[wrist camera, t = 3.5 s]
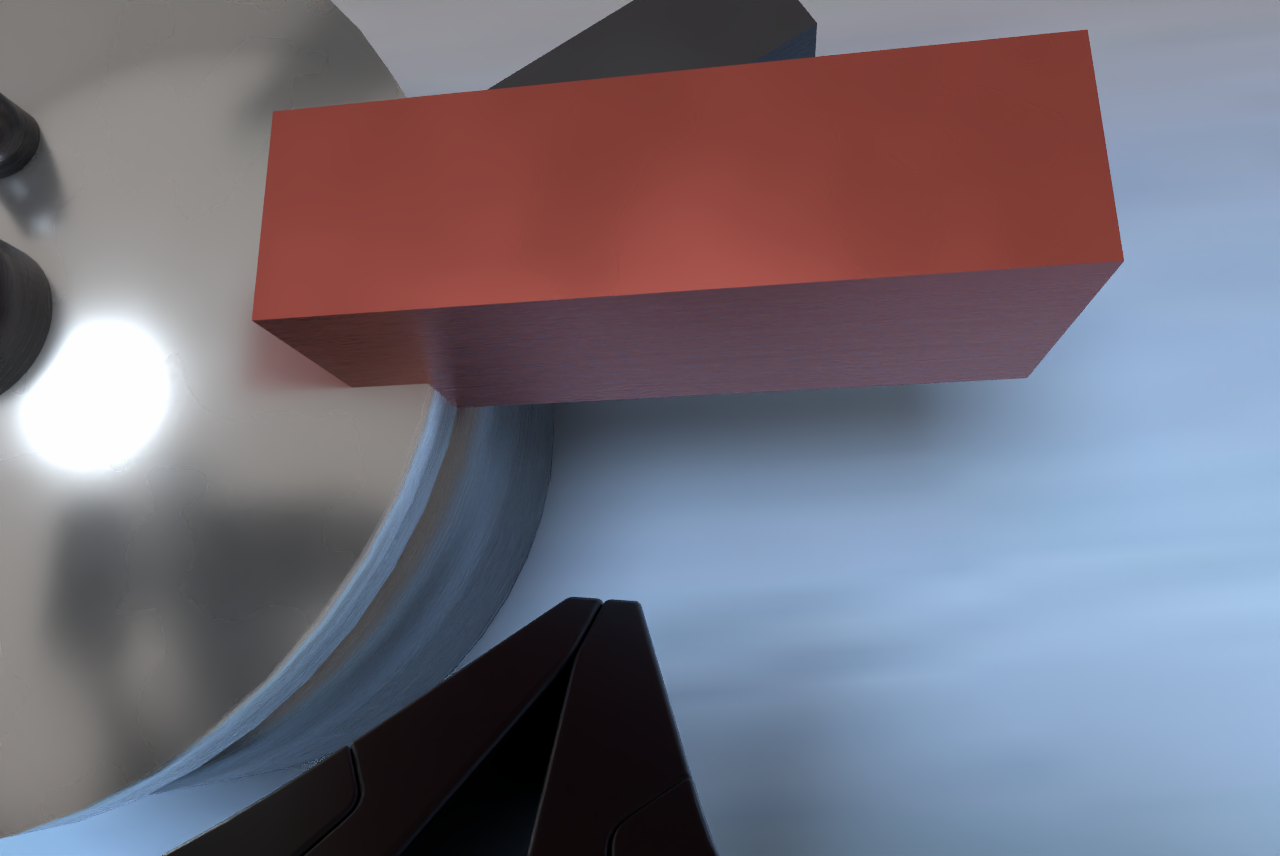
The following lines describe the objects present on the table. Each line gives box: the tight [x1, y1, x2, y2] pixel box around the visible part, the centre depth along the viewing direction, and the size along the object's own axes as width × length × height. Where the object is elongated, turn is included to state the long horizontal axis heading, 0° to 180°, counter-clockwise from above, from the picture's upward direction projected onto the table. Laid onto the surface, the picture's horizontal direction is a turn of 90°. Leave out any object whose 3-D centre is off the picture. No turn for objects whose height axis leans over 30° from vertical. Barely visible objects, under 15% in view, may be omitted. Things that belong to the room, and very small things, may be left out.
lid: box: [0, 0, 1124, 839], centre depth 13 cm, size 14×25×4 cm, turn 91°
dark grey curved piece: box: [148, 0, 817, 795], centre depth 18 cm, size 14×24×6 cm, turn 121°
